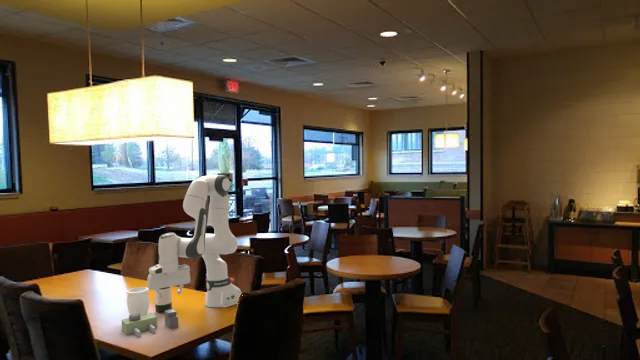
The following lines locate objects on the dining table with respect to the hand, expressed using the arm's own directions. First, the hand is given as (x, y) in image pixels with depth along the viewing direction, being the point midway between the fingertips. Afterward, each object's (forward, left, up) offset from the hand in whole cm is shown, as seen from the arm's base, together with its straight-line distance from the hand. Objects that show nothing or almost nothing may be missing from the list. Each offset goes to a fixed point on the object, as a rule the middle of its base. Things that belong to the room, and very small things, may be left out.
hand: (169, 295), depth 216 cm
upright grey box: (0, 0, -15) cm, 15 cm away
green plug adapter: (+13, -4, -15) cm, 20 cm away
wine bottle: (-5, -26, -15) cm, 31 cm away
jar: (+9, -22, -15) cm, 28 cm away
